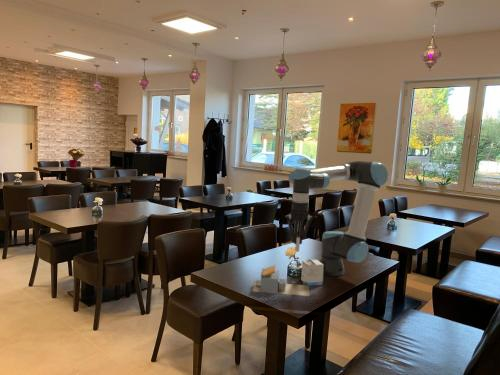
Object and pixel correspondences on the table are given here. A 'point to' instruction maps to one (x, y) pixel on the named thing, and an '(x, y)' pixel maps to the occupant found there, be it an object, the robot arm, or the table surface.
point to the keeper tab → (268, 271)
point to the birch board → (288, 289)
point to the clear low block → (280, 284)
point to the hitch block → (270, 283)
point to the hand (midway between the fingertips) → (297, 250)
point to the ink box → (312, 272)
